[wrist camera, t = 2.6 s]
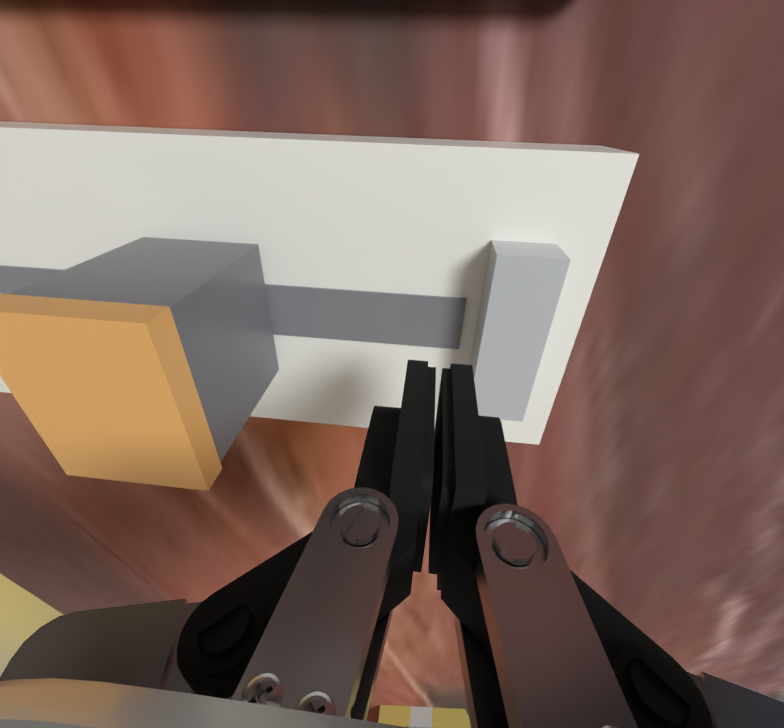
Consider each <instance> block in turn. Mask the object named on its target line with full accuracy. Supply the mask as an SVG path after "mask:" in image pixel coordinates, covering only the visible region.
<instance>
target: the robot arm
mask: <svg viewBox="0 0 784 728" xmlns="http://www.w3.org/2000/svg"><path fill="white" fill-rule="evenodd" d="M435 389H436V367H428V361H419V360H408V362H407V369H406V376H405V383H404V390H403V397H402V404H401V408H395V407H385V406H374V408H373V411H372V415H371V419H370V424H369V428H368V432H367V436H366V440H365V444H364V449H363V453H362V457H361V461H360V465H359V469H358V474H357V478H356V482H355V486H354V488H352V489H348V490H346V491H343V492H341V493H339V494H337V495H336V496H335V497H334V498H332V499H331V500H330V501H329V503H328V504H327V505H326V507H325V508H324V510H323V512H322V514H321V516H320V518H319V520H318V522H317V524H316V526H315V528H314V530H313V532H311V533H309V534H308V535H306V536H305V537H303V538H301V539H300V540H298V541H297V542H295V543H293V544H292V545H290V546H289V547H287V548H285V549H284V550H282V551H281V552H279V553H277V554H276V555H274V556H273V557H271V558H269V559H268V560H266V561H265V562H263V563H261V564H260V565H258V566H257V567H255V568H253V569H252V570H250V571H249V572H247V573H245V574H244V575H242V576H241V577H239V578H237V579H236V580H234V581H232V582H231V583H229V584H228V585H226V586H224V587H223V588H221V589H220V590H218V591H216V592H215V593H213V594H212V595H211V596H209V597H208V598H207V599H206V600H204V601H203V602H197V603H188V602H187V600H186V599H179V600H171V601H162V602H154V603H145V604H137V605H128V606H120V607H111V608H103V609H94V610H86V611H77V612H73V613H69V614H66V615H62V616H59V617H57V618H56V619H54V620H52V621H50V622H49V623H47V624H45V625H43V626H42V627H40V628H39V629H38V630H37V631H36V632H35V633H33V635H31V636H30V637H29V638H28V639H27V640H26V641H24V643H23V644H22V645H21V647H20V648H19V649H18V651H17V652H16V653H15V654H14V656H13V657H12V658H11V660H10V662H9V663H8V665H7V667H6V668H5V670H4V672H3V673H2V675H1V677H0V728H408V727H401V726H395V725H389V724H383V723H376V722H370V721H366V720H367V715H368V711H369V707H370V703H371V699H372V695H373V691H374V687H375V682H376V678H377V674H378V670H379V666H380V662H381V658H382V654H383V650H384V645H385V641H386V637H387V633H388V629H389V625H390V621H391V617H392V610H393V609H394V608H395V607H396V606H397V605H398V604H400V603H401V602H402V601H403V600H404V599H405V598H407V597H408V596H409V595H410V593H411V584H412V575H413V571H415V572H421V570H422V562H423V555H424V547H425V540H426V533H427V525H428V518H429V510H430V537H429V573H431V574H437V590H441V599H442V600H443V601H444V602H445V604H446V605H447V606H448V607H449V608H450V610H451V611H452V612H453V613H454V622H455V629H456V636H457V642H458V649H459V655H460V661H461V668H462V674H463V680H464V687H465V693H466V699H467V706H468V712H469V718H470V725H471V728H784V702H782V701H780V700H777V699H774V698H772V697H769V696H766V695H764V694H761V693H758V692H756V691H753V690H750V689H748V688H745V687H742V686H740V685H737V684H734V683H732V682H729V681H726V680H724V679H721V678H718V677H716V676H713V675H710V674H708V673H705V672H703V671H702V672H701V673H700V674H699V675H698V676H697V675H694V674H692V673H689V672H687V671H685V670H684V669H683V668H682V667H681V666H680V665H679V664H678V663H677V662H676V661H675V660H674V659H673V658H672V657H671V656H670V655H669V654H668V653H666V652H665V651H664V650H663V649H662V648H661V647H659V646H658V645H657V644H656V643H655V642H654V641H652V640H651V639H650V638H649V637H648V636H647V635H645V634H644V633H643V632H642V631H641V630H640V629H638V628H637V627H636V626H635V625H634V624H633V623H631V622H630V621H629V620H628V619H627V618H626V617H624V616H623V615H622V614H621V613H620V612H619V611H617V610H616V609H615V608H614V607H613V606H612V605H610V604H609V603H608V602H607V601H606V600H604V599H603V598H602V597H601V596H600V595H599V594H597V593H596V592H595V591H594V590H593V589H592V588H590V587H589V586H588V585H587V584H586V583H585V582H583V581H582V580H581V579H580V578H579V577H578V576H576V575H575V574H574V573H573V572H572V571H571V570H570V569H569V567H568V565H567V562H566V560H565V558H564V555H563V553H562V551H561V548H560V546H559V544H558V541H557V539H556V537H555V535H554V534H553V532H552V530H551V529H550V527H549V526H548V525H547V524H546V523H545V521H544V520H543V519H542V518H541V517H540V516H538V515H536V514H535V513H533V512H532V511H530V510H529V509H526V508H524V507H521V506H518V505H517V500H516V495H515V490H514V484H513V479H512V474H511V469H510V464H509V459H508V454H507V449H506V444H505V438H504V433H503V428H502V423H501V420H500V418H499V417H489V416H479V415H478V407H477V398H476V390H475V382H474V374H473V367H472V365H466V364H454V363H451V365H450V369H448V368H442V374H441V382H440V390H439V398H438V406H437V414H436V422H435ZM434 428H435V430H434ZM430 503H431V505H430Z"/></svg>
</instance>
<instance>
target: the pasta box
mask: <svg viewBox="0 0 784 728" xmlns="http://www.w3.org/2000/svg"><path fill="white" fill-rule="evenodd" d="M378 723H383V724H389V725H395V726H401V727H408V728H471V725H470V718H469V716H468V714H467V712H466V710H465V709H455V708H434V707H413V706H392V705H380V711H379V720H378Z"/></svg>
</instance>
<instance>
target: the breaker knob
mask: <svg viewBox="0 0 784 728" xmlns="http://www.w3.org/2000/svg"><path fill="white" fill-rule="evenodd" d="M278 370H279V366H278V360H277V354H276V348H275V342H274V336H273V330H272V324H271V318H270V312H269V306H268V300H267V294H266V288H265V282H264V276H263V270H262V264H261V258H260V252H259V246H258V244H245V243H229V242H214V241H198V240H182V239H166V238H150V237H142V238H140V239H137V240H135V241H132V242H130V243H128V244H125V245H123V246H120V247H118V248H116V249H113V250H111V251H108V252H106V253H104V254H101V255H99V256H97V257H94V258H92V259H89V260H87V261H85V262H82V263H80V264H77V265H75V266H73V267H70V268H68V269H65V270H63V271H61V272H58V273H56V274H53V275H51V276H49V277H46V278H44V279H42V280H39V281H37V282H34V283H32V284H30V285H27V286H25V287H22V288H20V289H18V290H15V291H13V292H10V293H8V294H0V376H1V378H2V379H3V381H4V382H5V384H6V385H7V387H8V388H9V390H10V391H11V393H12V394H13V396H14V397H15V399H16V400H17V402H18V403H19V405H20V406H21V408H22V409H23V410H24V412H25V413H26V415H27V416H28V418H29V419H30V421H31V422H32V424H33V425H34V427H35V428H36V430H37V431H38V433H39V434H40V436H41V437H42V439H43V440H44V442H45V443H46V445H47V446H48V448H49V449H50V451H51V452H52V453H53V455H54V456H55V458H56V459H57V461H58V462H59V464H60V465H61V467H62V468H63V470H64V471H65V473H66V474H67V475H71V476H80V477H89V478H98V479H107V480H115V481H124V482H133V483H142V484H150V485H159V486H168V487H177V488H186V489H194V490H203V491H209V489H210V488H211V486H212V485H213V483H214V481H215V480H216V478H217V476H218V475H219V473H220V472H221V470H222V466H221V463H220V462H221V461H222V459H223V458H224V456H225V455H226V453H227V451H228V450H229V448H230V447H231V445H232V443H233V442H234V440H235V439H236V437H237V435H238V434H239V432H240V431H241V429H242V428H243V426H244V424H245V423H246V421H247V420H248V418H249V416H250V415H251V413H252V412H253V410H254V409H255V407H256V405H257V404H258V402H259V401H260V399H261V397H262V396H263V394H264V393H265V391H266V389H267V388H268V386H269V385H270V383H271V382H272V380H273V378H274V377H275V375H276V374H277V372H278Z"/></svg>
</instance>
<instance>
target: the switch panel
mask: <svg viewBox="0 0 784 728" xmlns="http://www.w3.org/2000/svg"><path fill="white" fill-rule="evenodd" d="M638 157H639V154H638V153H633V152H628V151H624V150H619V149H614V148H609V147H605V146H596V145H571V144H547V143H522V142H497V141H473V140H448V139H423V138H398V137H374V136H349V135H324V134H299V133H275V132H250V131H225V130H200V129H176V128H151V127H126V126H101V125H77V124H52V123H27V122H2V121H0V294H8V293H10V292H13V291H15V290H18V289H20V288H22V287H25V286H27V285H30V284H32V283H34V282H37V281H39V280H42V279H44V278H46V277H49V276H51V275H53V274H56V273H58V272H61V271H63V270H65V269H68V268H70V267H73V266H75V265H77V264H80V263H82V262H85V261H87V260H89V259H92V258H94V257H97V256H99V255H101V254H104V253H106V252H108V251H111V250H113V249H116V248H118V247H120V246H123V245H125V244H128V243H130V242H132V241H135V240H137V239H140V238H142V237H150V238H166V239H182V240H198V241H214V242H229V243H245V244H258V246H259V252H260V258H261V264H262V270H263V276H264V282H265V288H266V294H267V300H268V306H269V312H270V318H271V324H272V330H273V336H274V342H275V348H276V354H277V360H278V366H279V370H278V372H277V374H276V375H275V377H274V378H273V380H272V382H271V383H270V385H269V386H268V388H267V389H266V391H265V393H264V394H263V396H262V397H261V399H260V401H259V402H258V404H257V405H256V407H255V409H254V410H253V412H252V413H251V415H250V416H252V417H262V418H272V419H283V420H293V421H303V422H313V423H323V424H334V425H344V426H354V427H364V428H369V424H370V419H371V415H372V411H373V408H374V406H385V407H395V408H401V404H402V397H403V390H404V383H405V376H406V369H407V362H408V360H419V361H428V367H436V389H435V422H436V414H437V406H438V398H439V390H440V382H441V374H442V368H448V369H450V365H451V363H454V364H466V365H472V367H473V374H474V382H475V390H476V398H477V407H478V415H479V416H489V417H499V418H500V420H501V423H502V428H503V433H504V438H505V441H507V442H518V443H528V444H538V445H539V443H540V440H541V437H542V434H543V432H544V429H545V426H546V423H547V420H548V417H549V414H550V411H551V408H552V405H553V403H554V400H555V397H556V394H557V391H558V388H559V385H560V382H561V379H562V377H563V374H564V371H565V368H566V365H567V362H568V359H569V356H570V353H571V350H572V348H573V345H574V342H575V339H576V336H577V333H578V330H579V327H580V324H581V322H582V319H583V316H584V313H585V310H586V307H587V304H588V301H589V298H590V295H591V293H592V290H593V287H594V284H595V281H596V278H597V275H598V272H599V269H600V267H601V264H602V261H603V258H604V255H605V252H606V249H607V246H608V243H609V241H610V238H611V235H612V232H613V229H614V226H615V223H616V220H617V217H618V214H619V212H620V209H621V206H622V203H623V200H624V197H625V194H626V191H627V188H628V186H629V183H630V180H631V177H632V174H633V171H634V168H635V165H636V162H637V159H638ZM0 392H7V393H11V391H10V390H9V388H8V387H7V385H6V384H5V382H4V381H3V379H2V378H1V376H0ZM434 430H435V428H434Z"/></svg>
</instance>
